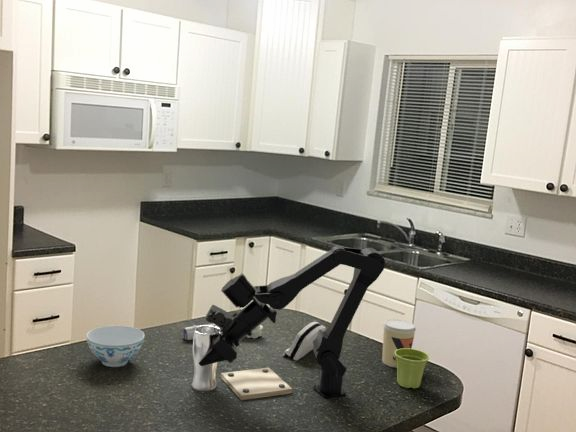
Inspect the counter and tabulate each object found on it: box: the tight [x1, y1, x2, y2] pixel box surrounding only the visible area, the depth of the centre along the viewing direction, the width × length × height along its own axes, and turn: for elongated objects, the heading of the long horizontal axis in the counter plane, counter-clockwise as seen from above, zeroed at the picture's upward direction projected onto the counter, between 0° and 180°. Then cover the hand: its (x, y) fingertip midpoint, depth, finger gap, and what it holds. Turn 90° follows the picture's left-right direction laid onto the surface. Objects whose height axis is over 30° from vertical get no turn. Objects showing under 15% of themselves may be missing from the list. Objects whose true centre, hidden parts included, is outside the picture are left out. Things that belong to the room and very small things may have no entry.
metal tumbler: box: [191, 325, 221, 392], centre depth 161 cm, size 7×7×15 cm
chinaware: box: [86, 325, 146, 368], centre depth 171 cm, size 15×15×8 cm
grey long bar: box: [182, 323, 264, 342], centre depth 198 cm, size 5×7×25 cm
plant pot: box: [395, 348, 430, 389], centre depth 174 cm, size 9×9×9 cm
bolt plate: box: [220, 367, 293, 401], centre depth 165 cm, size 14×14×2 cm
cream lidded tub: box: [381, 319, 416, 369], centre depth 189 cm, size 9×9×12 cm
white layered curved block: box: [281, 321, 327, 361], centre depth 192 cm, size 17×5×10 cm, turn 154°
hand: (200, 359), depth 161 cm, fingers closed on metal tumbler, 6 cm apart
